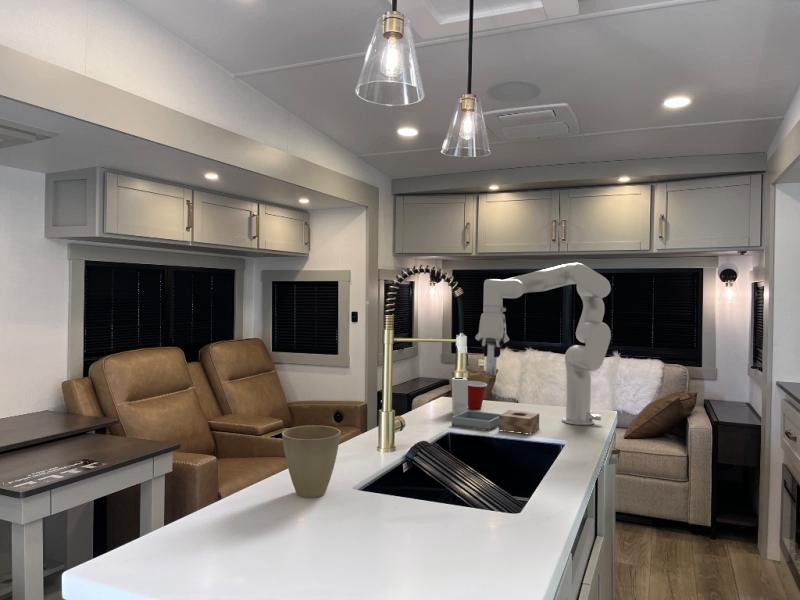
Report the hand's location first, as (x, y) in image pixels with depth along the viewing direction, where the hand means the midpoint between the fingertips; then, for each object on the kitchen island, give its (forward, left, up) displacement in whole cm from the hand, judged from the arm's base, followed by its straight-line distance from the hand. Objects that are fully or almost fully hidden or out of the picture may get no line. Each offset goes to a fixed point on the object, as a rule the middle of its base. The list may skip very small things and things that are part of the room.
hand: (491, 356), depth 232 cm
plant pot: (+10, +100, -28) cm, 104 cm away
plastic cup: (+19, -30, -28) cm, 45 cm away
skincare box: (+20, -15, -28) cm, 38 cm away
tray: (+5, 0, -28) cm, 28 cm away
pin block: (-12, 0, -28) cm, 30 cm away
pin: (0, 0, -7) cm, 7 cm away
